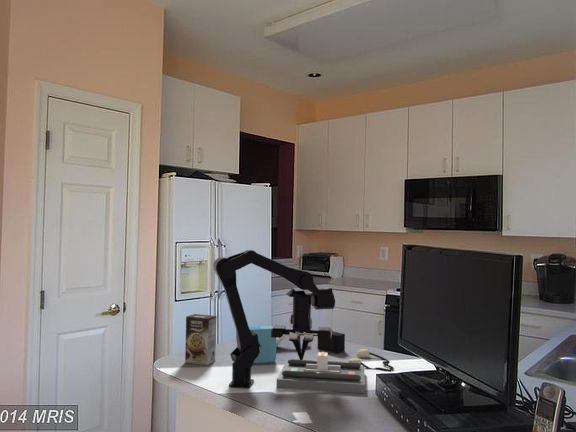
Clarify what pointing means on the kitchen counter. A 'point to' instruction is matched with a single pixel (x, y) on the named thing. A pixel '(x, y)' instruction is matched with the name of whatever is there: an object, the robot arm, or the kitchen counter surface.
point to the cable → (365, 354)
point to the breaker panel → (322, 381)
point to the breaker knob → (322, 361)
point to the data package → (265, 344)
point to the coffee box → (200, 339)
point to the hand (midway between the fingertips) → (301, 359)
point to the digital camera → (333, 343)
